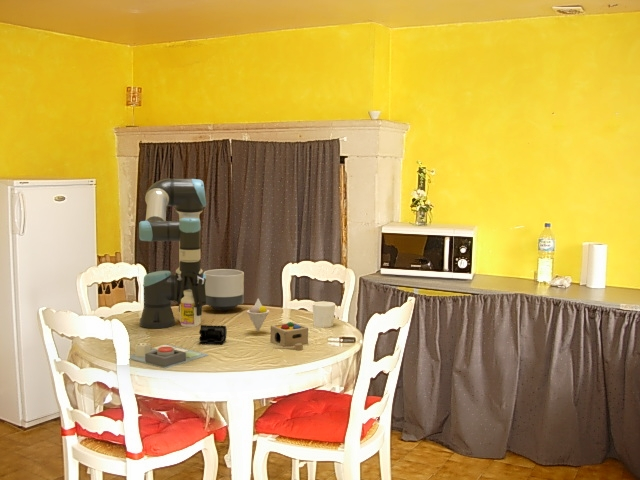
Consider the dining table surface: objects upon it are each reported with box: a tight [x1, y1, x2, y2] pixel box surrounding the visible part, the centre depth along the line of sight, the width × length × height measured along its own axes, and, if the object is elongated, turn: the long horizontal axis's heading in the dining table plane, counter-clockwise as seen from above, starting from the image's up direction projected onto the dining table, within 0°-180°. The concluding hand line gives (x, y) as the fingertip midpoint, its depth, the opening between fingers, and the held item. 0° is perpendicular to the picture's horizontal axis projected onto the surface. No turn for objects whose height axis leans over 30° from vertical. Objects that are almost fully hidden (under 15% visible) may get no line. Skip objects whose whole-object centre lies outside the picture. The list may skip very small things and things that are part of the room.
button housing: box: [145, 350, 186, 368], centre depth 249 cm, size 10×10×3 cm
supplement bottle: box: [180, 290, 200, 328], centre depth 255 cm, size 7×7×13 cm
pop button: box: [157, 347, 174, 357], centre depth 249 cm, size 6×6×4 cm
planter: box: [203, 268, 245, 311], centre depth 337 cm, size 19×19×18 cm
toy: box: [246, 297, 270, 333], centre depth 292 cm, size 9×9×15 cm
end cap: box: [198, 324, 227, 346], centre depth 277 cm, size 10×7×7 cm
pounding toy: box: [270, 321, 309, 351], centre depth 274 cm, size 18×17×8 cm
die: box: [134, 342, 152, 357], centre depth 255 cm, size 4×4×4 cm
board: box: [129, 343, 209, 369], centre depth 256 cm, size 22×21×1 cm
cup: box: [311, 301, 336, 329], centre depth 307 cm, size 10×10×10 cm
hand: (190, 322), depth 256 cm, fingers closed on supplement bottle, 7 cm apart
